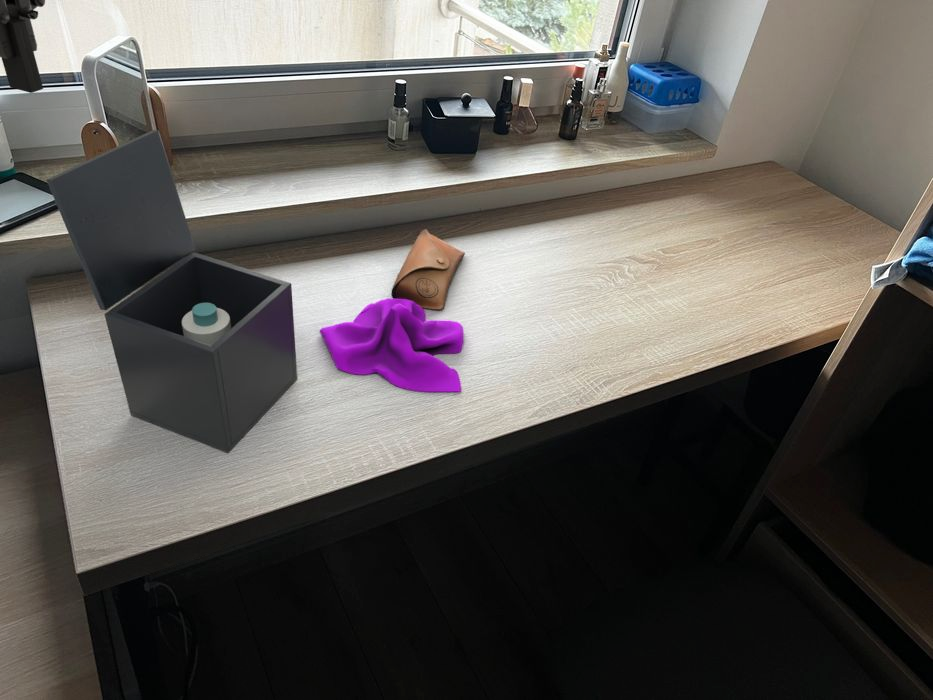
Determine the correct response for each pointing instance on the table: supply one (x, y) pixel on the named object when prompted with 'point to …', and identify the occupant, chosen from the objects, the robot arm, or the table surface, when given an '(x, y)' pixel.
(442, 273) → the sunglasses case
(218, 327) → the white bottle
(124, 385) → the dark grey open box
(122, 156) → the lid
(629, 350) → the table surface
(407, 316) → the cloth
